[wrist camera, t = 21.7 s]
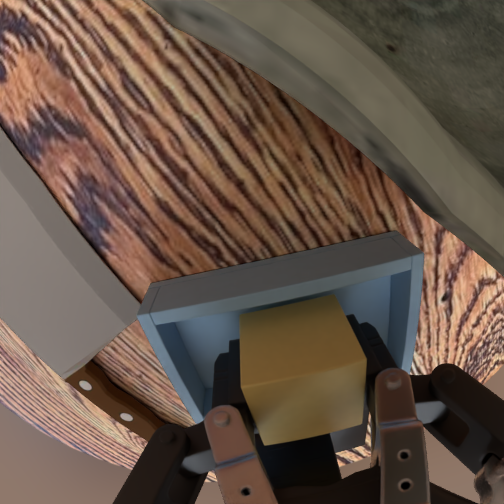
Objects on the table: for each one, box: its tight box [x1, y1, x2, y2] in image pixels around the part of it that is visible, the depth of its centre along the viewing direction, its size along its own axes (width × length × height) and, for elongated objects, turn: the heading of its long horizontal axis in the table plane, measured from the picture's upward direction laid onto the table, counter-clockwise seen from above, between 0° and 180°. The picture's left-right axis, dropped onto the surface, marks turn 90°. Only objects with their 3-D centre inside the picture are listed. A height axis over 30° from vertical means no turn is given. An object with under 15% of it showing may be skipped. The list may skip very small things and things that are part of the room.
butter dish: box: [137, 231, 424, 424], centre depth 13 cm, size 11×7×2 cm, turn 102°
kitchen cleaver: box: [0, 126, 166, 442], centre depth 13 cm, size 24×1×10 cm
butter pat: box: [239, 294, 367, 445], centre depth 11 cm, size 4×4×4 cm
